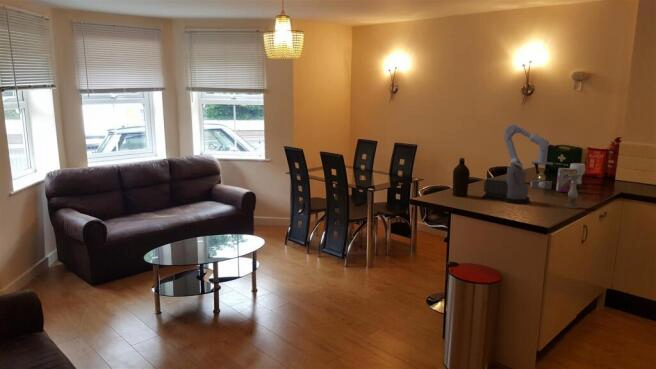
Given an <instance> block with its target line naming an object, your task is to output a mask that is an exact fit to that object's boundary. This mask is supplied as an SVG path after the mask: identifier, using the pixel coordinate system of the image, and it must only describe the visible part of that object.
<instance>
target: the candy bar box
mask: <svg viewBox="0 0 656 369" xmlns="http://www.w3.org/2000/svg"><path fill="white" fill-rule="evenodd" d="M569 173H576V174H577V169H571V168H570V167H569V168H565V167H558V169H557V176H556V177H557V179H556V180H557V181H556V186H555V187H556V188H555V191H556V192H557V193H568V192H569V191H570V189H571V181H572V179H571V176H568V174H569Z"/></svg>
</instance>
